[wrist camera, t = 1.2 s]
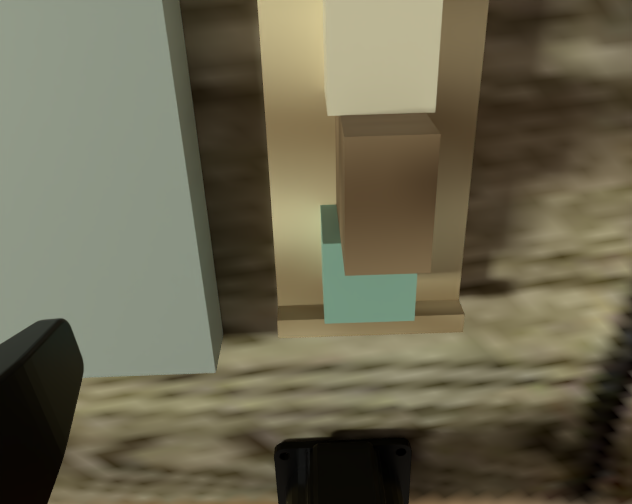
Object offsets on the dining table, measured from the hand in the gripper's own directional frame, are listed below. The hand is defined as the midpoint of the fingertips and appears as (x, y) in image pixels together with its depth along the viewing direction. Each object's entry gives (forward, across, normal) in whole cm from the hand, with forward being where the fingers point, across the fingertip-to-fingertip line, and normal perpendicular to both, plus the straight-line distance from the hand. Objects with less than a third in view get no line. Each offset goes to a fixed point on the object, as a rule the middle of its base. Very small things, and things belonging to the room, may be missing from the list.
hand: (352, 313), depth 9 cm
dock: (+13, +10, +1) cm, 16 cm away
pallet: (+14, -1, +2) cm, 14 cm away
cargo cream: (+12, -2, -2) cm, 12 cm away
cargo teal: (+12, -1, +5) cm, 13 cm away
